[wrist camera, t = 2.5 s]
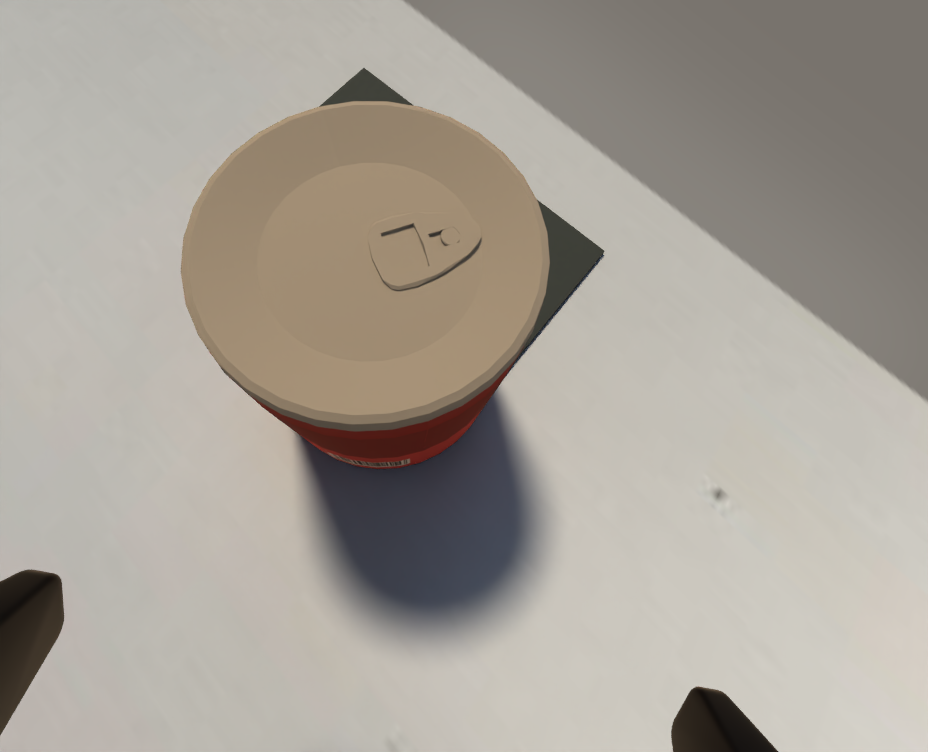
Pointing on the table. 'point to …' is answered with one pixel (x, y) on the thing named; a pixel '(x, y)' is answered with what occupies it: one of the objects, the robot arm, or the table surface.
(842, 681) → the table surface
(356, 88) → the mat
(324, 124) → the canned food
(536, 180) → the table surface
